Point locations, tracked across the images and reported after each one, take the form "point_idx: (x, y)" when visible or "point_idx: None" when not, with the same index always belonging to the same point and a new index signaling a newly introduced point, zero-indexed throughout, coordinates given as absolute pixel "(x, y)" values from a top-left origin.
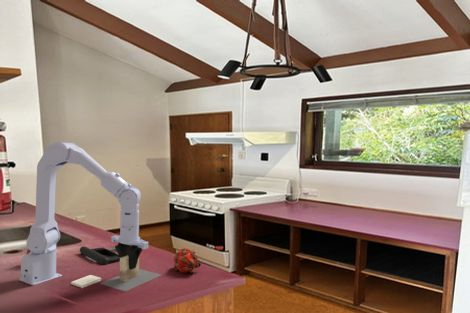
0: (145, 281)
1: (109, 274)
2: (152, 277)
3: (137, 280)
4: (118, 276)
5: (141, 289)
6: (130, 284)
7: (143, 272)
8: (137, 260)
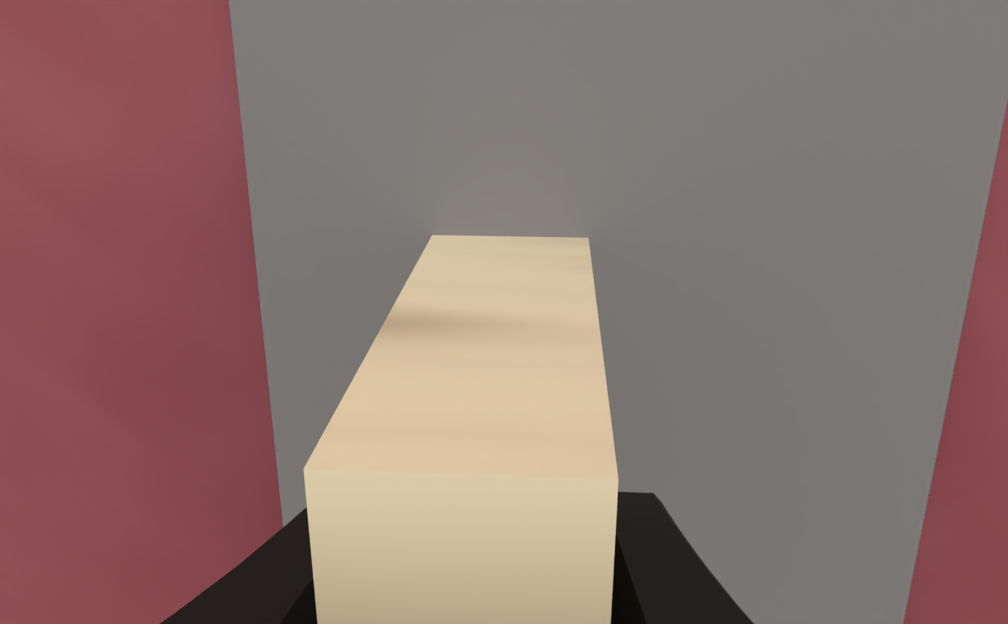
0: (917, 397)
1: (37, 412)
2: (925, 161)
3: (745, 436)
4: (299, 468)
5: (1002, 598)
6: (756, 611)
7: (542, 37)
8: (725, 596)
